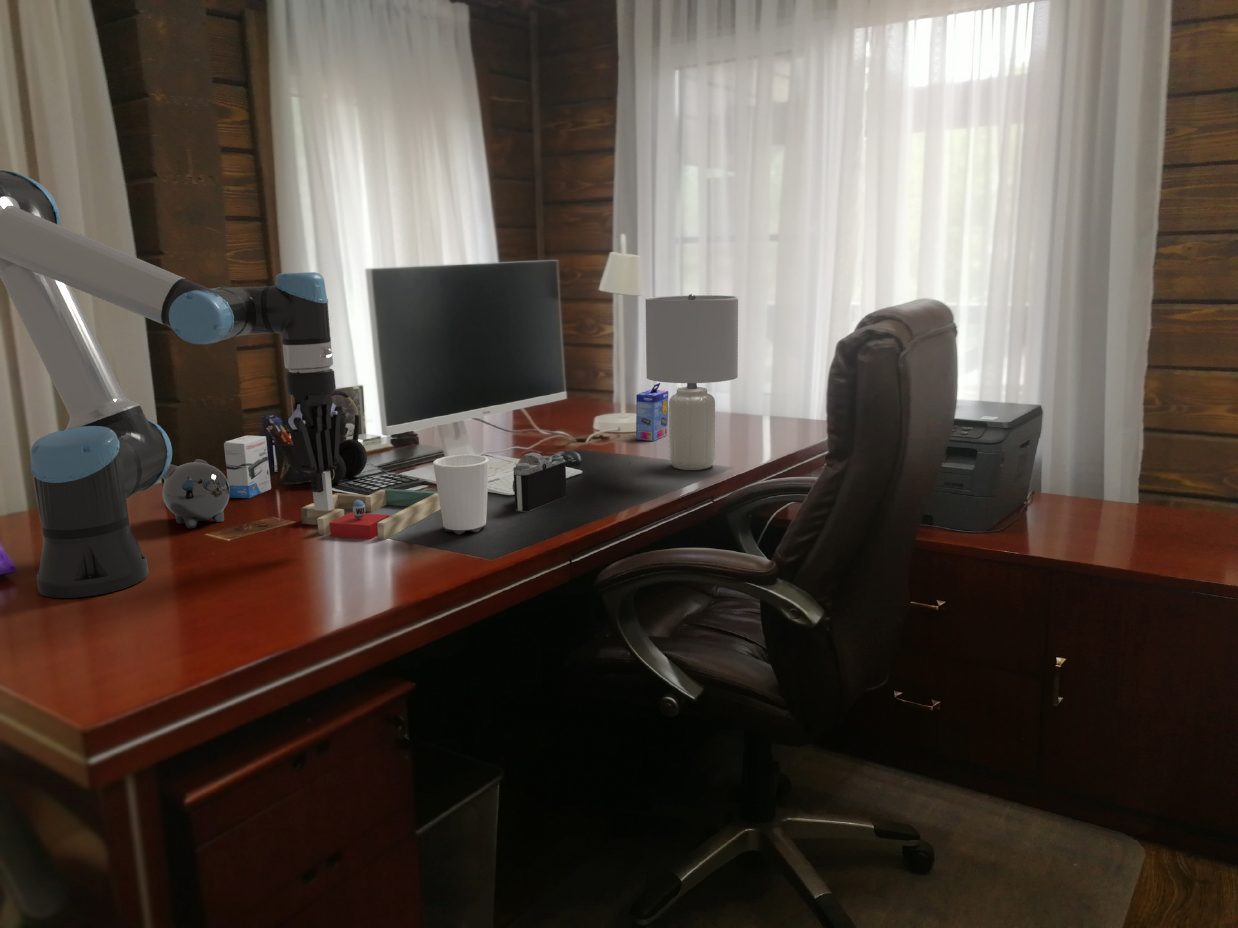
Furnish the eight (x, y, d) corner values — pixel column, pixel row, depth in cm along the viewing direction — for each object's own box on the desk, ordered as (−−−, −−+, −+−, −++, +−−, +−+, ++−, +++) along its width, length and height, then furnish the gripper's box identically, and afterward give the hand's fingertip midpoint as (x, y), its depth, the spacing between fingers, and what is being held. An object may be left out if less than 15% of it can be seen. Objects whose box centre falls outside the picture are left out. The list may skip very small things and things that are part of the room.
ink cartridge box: (654, 441, 245) (654, 386, 242) (635, 440, 247) (634, 385, 244) (669, 435, 254) (668, 381, 251) (650, 433, 256) (649, 380, 253)
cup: (433, 525, 174) (428, 457, 171) (485, 518, 177) (481, 452, 174) (442, 539, 165) (438, 468, 162) (498, 533, 168) (494, 463, 165)
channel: (384, 539, 165) (383, 523, 165) (284, 531, 172) (282, 515, 171) (444, 507, 186) (443, 492, 185) (353, 500, 192) (352, 486, 191)
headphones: (302, 486, 206) (293, 394, 201) (348, 471, 219) (340, 385, 214) (332, 489, 202) (324, 396, 198) (377, 474, 215) (370, 387, 211)
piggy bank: (210, 509, 188) (203, 452, 185) (246, 522, 178) (240, 463, 175) (152, 521, 180) (144, 463, 177) (187, 536, 170) (179, 474, 167)
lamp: (753, 470, 211) (755, 294, 202) (670, 480, 204) (668, 297, 195) (711, 453, 229) (711, 291, 221) (634, 462, 222) (631, 294, 213)
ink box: (249, 499, 195) (243, 443, 193) (228, 498, 196) (221, 442, 194) (272, 489, 203) (267, 435, 201) (251, 488, 204) (245, 434, 202)
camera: (543, 491, 196) (541, 444, 194) (570, 495, 193) (568, 447, 191) (498, 508, 184) (496, 458, 182) (526, 513, 181) (524, 462, 179)
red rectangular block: (390, 529, 172) (387, 496, 171) (370, 540, 166) (368, 506, 165) (351, 527, 175) (348, 494, 173) (330, 537, 168) (327, 503, 167)
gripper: (305, 374, 146) (320, 521, 152) (352, 364, 159) (365, 500, 164) (264, 374, 149) (280, 518, 154) (314, 364, 161) (327, 498, 166)
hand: (324, 509), depth 159 cm, fingers closed
